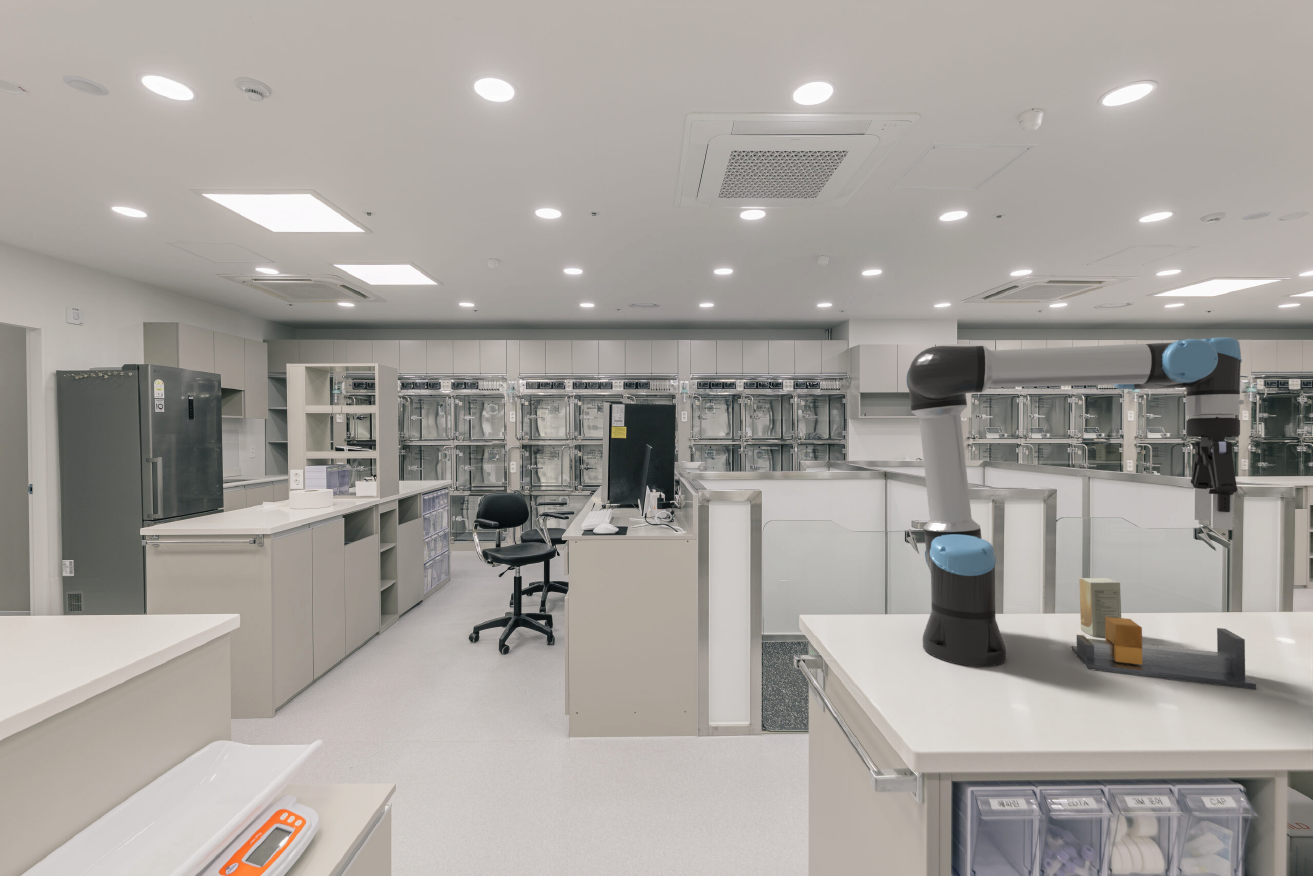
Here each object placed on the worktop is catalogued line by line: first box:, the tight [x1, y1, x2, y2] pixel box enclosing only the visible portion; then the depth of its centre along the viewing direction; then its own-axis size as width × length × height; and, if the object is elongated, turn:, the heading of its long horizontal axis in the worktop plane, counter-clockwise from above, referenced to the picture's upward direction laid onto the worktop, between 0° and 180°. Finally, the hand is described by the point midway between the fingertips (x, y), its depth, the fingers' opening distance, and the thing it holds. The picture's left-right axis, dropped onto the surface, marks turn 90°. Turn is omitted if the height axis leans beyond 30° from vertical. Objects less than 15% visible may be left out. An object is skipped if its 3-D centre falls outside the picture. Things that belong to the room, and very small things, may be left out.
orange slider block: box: [1104, 617, 1143, 665], centre depth 108 cm, size 4×5×7 cm
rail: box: [1071, 627, 1257, 690], centre depth 106 cm, size 24×10×8 cm, turn 68°
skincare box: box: [1078, 577, 1122, 637], centre depth 124 cm, size 6×4×12 cm
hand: (1211, 524), depth 109 cm, fingers open, 13 cm apart
